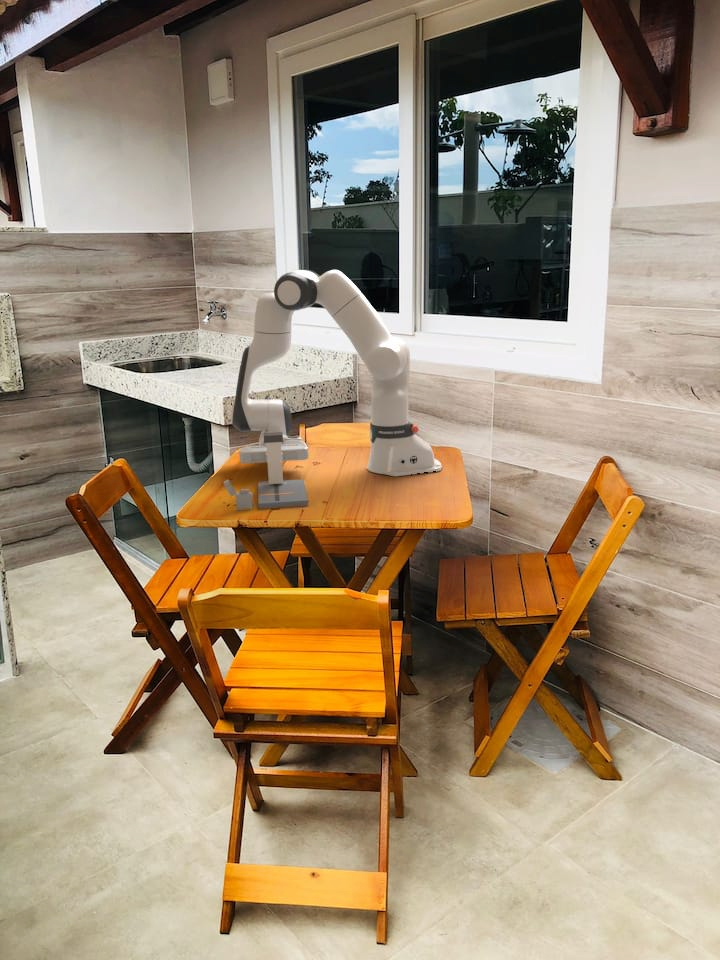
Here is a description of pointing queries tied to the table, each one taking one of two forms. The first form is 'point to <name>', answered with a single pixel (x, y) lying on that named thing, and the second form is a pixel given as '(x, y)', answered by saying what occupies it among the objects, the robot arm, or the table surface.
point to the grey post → (274, 456)
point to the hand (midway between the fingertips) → (274, 460)
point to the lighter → (240, 496)
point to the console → (282, 494)
